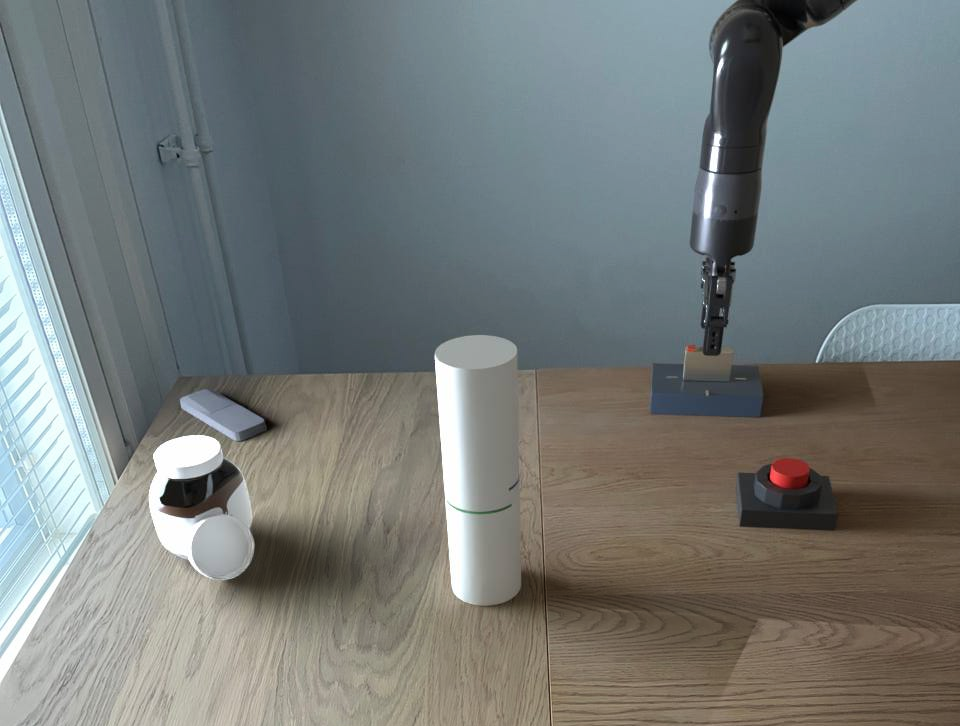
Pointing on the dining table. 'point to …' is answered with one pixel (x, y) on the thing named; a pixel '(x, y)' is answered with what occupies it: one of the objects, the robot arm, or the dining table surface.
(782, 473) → the button
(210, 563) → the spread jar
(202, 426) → the dining table surface
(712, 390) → the switch panel
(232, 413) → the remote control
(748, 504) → the button box
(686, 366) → the beige rectangular block
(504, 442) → the cylindrical container
